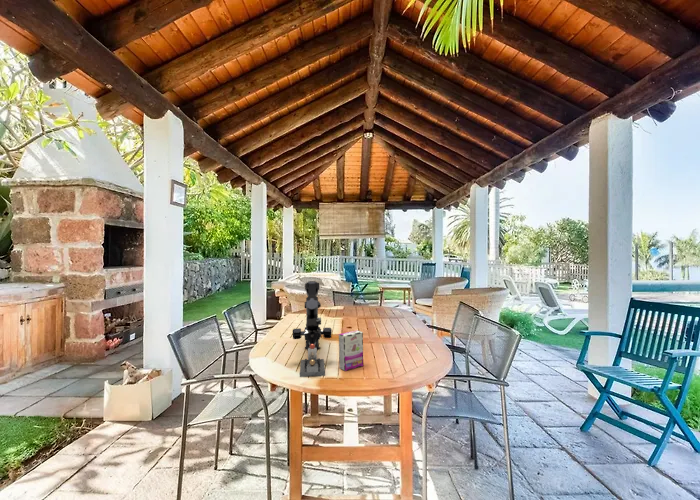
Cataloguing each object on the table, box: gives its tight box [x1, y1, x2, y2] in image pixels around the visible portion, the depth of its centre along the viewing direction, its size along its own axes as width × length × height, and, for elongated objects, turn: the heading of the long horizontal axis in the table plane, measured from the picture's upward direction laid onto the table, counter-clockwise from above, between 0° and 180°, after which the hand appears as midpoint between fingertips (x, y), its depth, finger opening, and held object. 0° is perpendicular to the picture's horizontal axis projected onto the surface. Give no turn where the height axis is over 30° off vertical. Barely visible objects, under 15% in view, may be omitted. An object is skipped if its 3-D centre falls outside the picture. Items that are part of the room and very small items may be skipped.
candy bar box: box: [338, 330, 364, 372], centre depth 161 cm, size 11×5×16 cm, turn 126°
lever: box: [307, 344, 318, 363], centre depth 157 cm, size 3×4×9 cm, turn 96°
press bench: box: [299, 357, 326, 378], centre depth 158 cm, size 16×11×7 cm, turn 6°
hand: (312, 349), depth 160 cm, fingers closed
